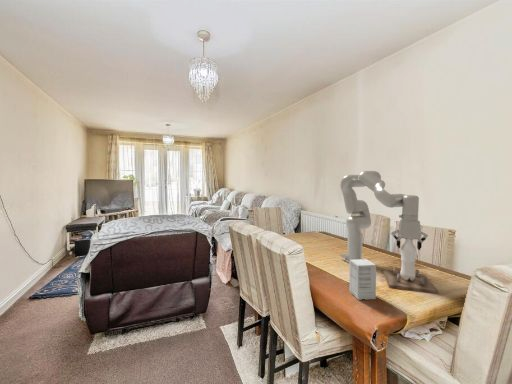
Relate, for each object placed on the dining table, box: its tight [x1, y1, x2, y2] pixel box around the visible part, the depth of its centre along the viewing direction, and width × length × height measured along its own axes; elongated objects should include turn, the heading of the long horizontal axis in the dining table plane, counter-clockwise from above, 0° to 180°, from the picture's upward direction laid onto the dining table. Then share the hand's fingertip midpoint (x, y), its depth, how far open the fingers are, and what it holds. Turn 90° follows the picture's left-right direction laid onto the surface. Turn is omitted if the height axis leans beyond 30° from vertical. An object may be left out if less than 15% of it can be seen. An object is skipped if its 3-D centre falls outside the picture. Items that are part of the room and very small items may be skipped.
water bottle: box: [399, 239, 417, 281], centre depth 140 cm, size 7×7×25 cm
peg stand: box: [382, 266, 439, 295], centre depth 140 cm, size 22×22×6 cm
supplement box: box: [348, 258, 377, 301], centre depth 125 cm, size 10×9×17 cm
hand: (408, 248), depth 139 cm, fingers open, 9 cm apart
